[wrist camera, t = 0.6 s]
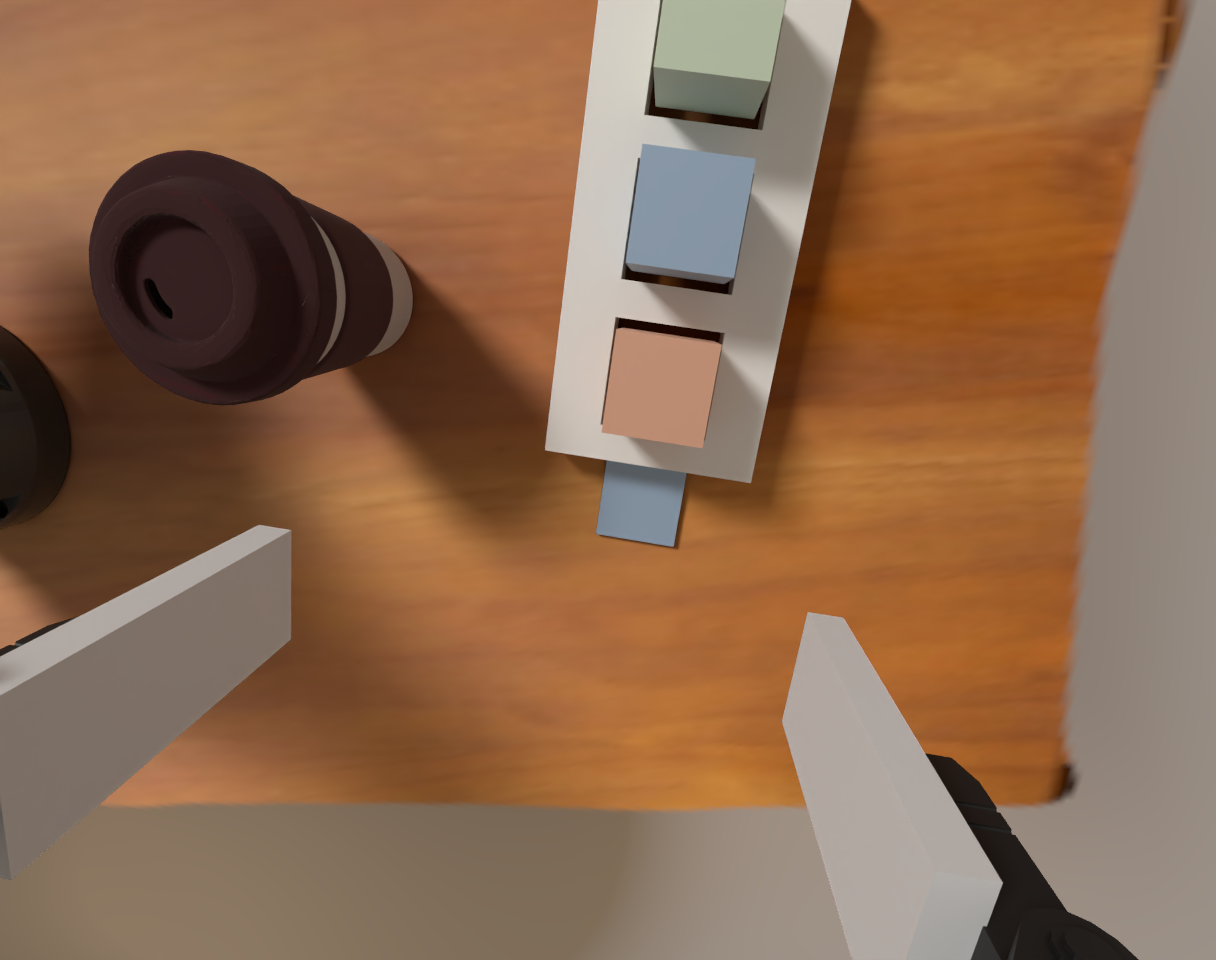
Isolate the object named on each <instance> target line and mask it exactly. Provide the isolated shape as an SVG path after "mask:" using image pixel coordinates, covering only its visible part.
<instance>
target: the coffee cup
mask: <svg viewBox="0 0 1216 960" xmlns="http://www.w3.org/2000/svg"><path fill="white" fill-rule="evenodd" d="M89 265H90V276H91V282H92V288H93V293H94V296H95V299H96V302H97V305H98V308H99V311H100V314H101V317H102V319H103V321H104V323H105V325H106V327H107V329H108V331H109V332H110V334H111V336H112V337H113V339H114V340H115V342H116V343H117V344H118V346H119V347H120V348H121V350H122V351H123V352H124V354H125V355H126V356H127V357H128V358H129V359H130V360H131V361H132V362H133V363H134V365H135V366H136V367H137V368H138V369H139V370H140V371H141V372H143V373H144V374H145V375H146V376H148V377H149V378H150V379H152V380H153V381H154V382H156V383H157V384H159V385H161V386H162V387H164V388H165V389H167V390H169V391H171V392H173V393H175V394H177V395H179V396H182V397H185V398H188V399H190V400H194V401H197V402H201V403H206V404H213V405H236V404H242V403H247V402H253V401H258V400H263V399H266V398H270V397H273V396H275V395H278V394H280V393H283V392H284V391H286V390H288V389H289V388H291V387H293V386H294V385H296V384H297V383H299V382H300V381H301V380H303V379H306V378H309V377H313V376H316V375H320V374H323V373H327V372H330V371H333V370H337V369H340V368H344V367H347V366H350V365H352V364H354V363H356V362H358V361H360V360H362V359H363V358H365V357H368V356H372V355H375V354H378V353H380V352H382V351H384V350H386V349H388V348H389V347H390V346H392V345H393V344H394V343H395V342H396V341H397V340H398V339H399V338H400V337H401V335H402V334H403V333H404V331H405V329H406V327H407V325H408V323H409V320H410V317H411V313H412V307H413V294H412V288H411V283H410V279H409V277H408V274H407V272H406V269H405V267H404V266H403V264H402V262H401V261H400V259H399V258H398V257H397V256H396V254H395V253H394V252H393V251H392V250H391V249H390V248H389V247H388V246H387V245H386V244H384V243H383V242H382V241H380V240H378V239H377V238H375V237H373V236H371V235H368V234H366V233H364V232H362V231H361V230H360V229H359V228H357V227H356V226H355V225H353V224H351V223H350V222H348V221H346V220H344V219H342V218H340V217H338V216H336V215H334V214H332V213H330V212H328V211H325V210H323V209H321V208H319V207H317V206H315V205H312V204H310V203H308V202H306V201H304V200H302V199H300V198H297V197H295V196H293V195H292V194H291V193H290V192H289V191H288V190H287V189H286V188H285V187H284V186H282V185H281V184H279V183H278V182H277V181H275V180H274V179H272V178H271V177H269V176H268V175H266V174H265V173H263V172H261V171H259V170H257V169H255V168H253V167H250V166H248V165H245V164H243V163H241V162H238V161H235V160H232V159H230V158H227V157H224V156H221V155H217V154H213V153H209V152H204V151H193V150H185V151H173V152H167V153H163V154H159V155H156V156H153V157H151V158H148V159H145V160H143V161H141V162H140V163H138V164H136V165H134V166H133V167H132V168H131V169H129V170H128V171H127V172H126V173H124V174H123V175H122V176H121V177H120V178H119V179H118V180H117V181H116V183H115V184H114V185H113V186H112V188H111V189H110V190H109V191H108V193H107V194H106V196H105V198H104V200H103V201H102V203H101V205H100V207H99V209H98V212H97V215H96V218H95V220H94V224H93V228H92V232H91V236H90V245H89Z"/></svg>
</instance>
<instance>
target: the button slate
mask: <svg viewBox="0 0 1216 960" xmlns="http://www.w3.org/2000/svg"><path fill="white" fill-rule="evenodd" d="M755 162H756V159H754V158H747V157H739V156H732V155H724V154H717V153H709V152H702V151H694V150H687V149H679V148H672V147H664V146H657V145H649V144H642V150H641V158H640V165H639V172H638V179H637V186H636V193H635V200H634V207H633V214H632V221H631V228H630V235H629V242H628V249H627V256H626V264H627V265H628V267H629V268H630V269H631V271H636V272H642V273H649V274H656V275H663V276H670V277H677V278H684V279H691V280H698V281H705V282H712V283H719V284H725V283H727V282H729V281H730V280H732V279H733V278H734V276H735V270H736V265H737V259H738V254H739V249H740V243H741V238H742V232H743V227H744V222H745V216H746V211H747V205H748V200H749V195H750V189H751V184H752V178H753V173H754V167H755Z"/></svg>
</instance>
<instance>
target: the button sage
mask: <svg viewBox="0 0 1216 960" xmlns="http://www.w3.org/2000/svg"><path fill="white" fill-rule="evenodd" d="M784 5H785V0H663V3H662V10H661V17H660V24H659V31H658V38H657V45H656V52H655V59H654V66H653V69H654V88H655V106H656V107H663V108H671V109H679V110H686V111H694V112H702V113H709V114H717V115H725V116H732V117H740V118H748V119H754V118H755V116H756V114H757V111H758V109H759V107H760V104H761V102H762V100H763V98H764V95H765V93H766V91H767V88H768V86H769V84H770V81H771V76H772V70H773V65H774V59H775V54H776V49H777V43H778V38H779V32H780V27H781V22H782V16H783V11H784Z"/></svg>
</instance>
